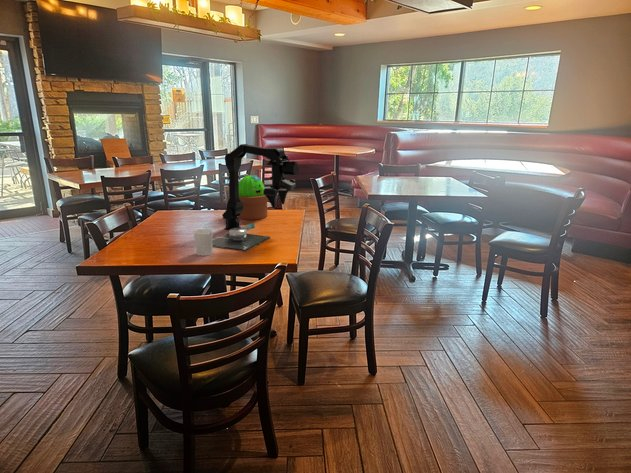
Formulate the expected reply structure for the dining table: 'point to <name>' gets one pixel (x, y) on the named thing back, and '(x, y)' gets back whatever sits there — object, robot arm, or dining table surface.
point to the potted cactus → (252, 198)
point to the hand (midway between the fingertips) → (278, 206)
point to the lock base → (239, 242)
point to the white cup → (203, 241)
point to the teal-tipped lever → (240, 231)
